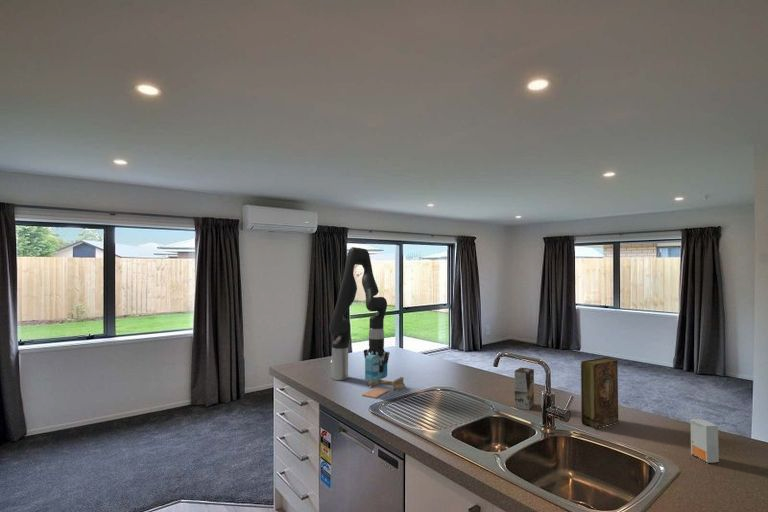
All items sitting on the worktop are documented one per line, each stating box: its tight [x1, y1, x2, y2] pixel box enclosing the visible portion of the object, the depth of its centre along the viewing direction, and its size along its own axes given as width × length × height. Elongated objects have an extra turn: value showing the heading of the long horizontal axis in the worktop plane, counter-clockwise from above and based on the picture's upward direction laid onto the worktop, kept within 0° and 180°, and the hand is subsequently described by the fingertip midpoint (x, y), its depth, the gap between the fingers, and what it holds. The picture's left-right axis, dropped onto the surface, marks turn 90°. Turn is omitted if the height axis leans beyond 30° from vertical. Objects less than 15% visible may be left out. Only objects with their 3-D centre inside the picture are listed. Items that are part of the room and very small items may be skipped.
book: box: [580, 357, 619, 430], centre depth 153 cm, size 16×6×25 cm, turn 117°
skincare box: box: [690, 418, 720, 463], centre depth 124 cm, size 6×4×12 cm
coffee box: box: [514, 367, 535, 411], centre depth 173 cm, size 9×6×16 cm
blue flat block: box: [364, 353, 388, 382], centre depth 189 cm, size 12×4×12 cm, turn 140°
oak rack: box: [367, 376, 406, 392], centre depth 201 cm, size 16×10×5 cm, turn 61°
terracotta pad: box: [361, 386, 390, 399], centre depth 189 cm, size 8×14×1 cm, turn 151°
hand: (376, 371), depth 189 cm, fingers closed on blue flat block, 5 cm apart
